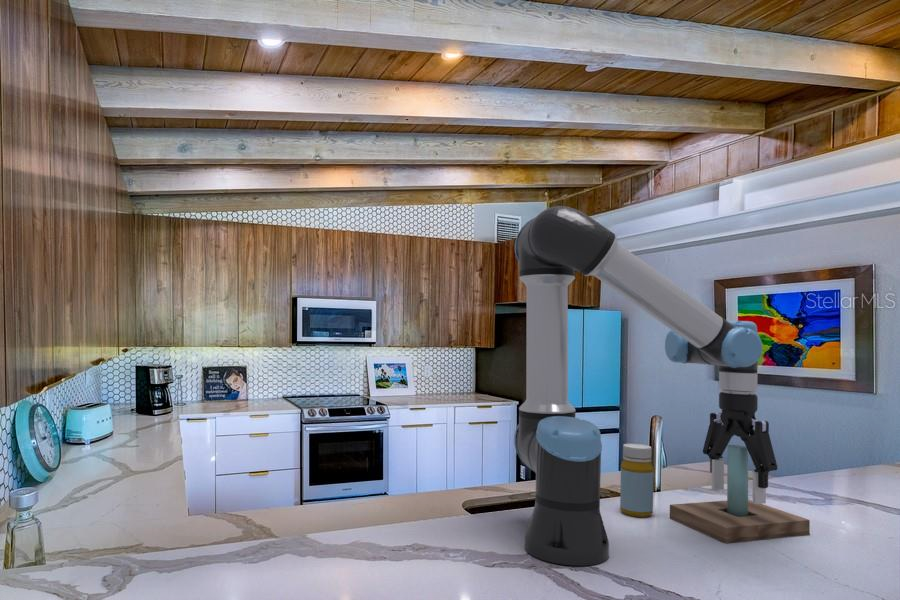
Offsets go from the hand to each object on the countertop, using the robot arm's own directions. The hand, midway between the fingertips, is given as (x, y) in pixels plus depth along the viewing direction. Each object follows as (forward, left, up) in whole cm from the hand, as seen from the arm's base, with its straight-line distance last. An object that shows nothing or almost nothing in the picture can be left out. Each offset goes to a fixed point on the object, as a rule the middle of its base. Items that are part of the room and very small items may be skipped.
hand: (737, 496), depth 126 cm
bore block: (0, 0, -6) cm, 6 cm away
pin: (0, 0, -6) cm, 6 cm away
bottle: (-16, +13, -7) cm, 22 cm away
